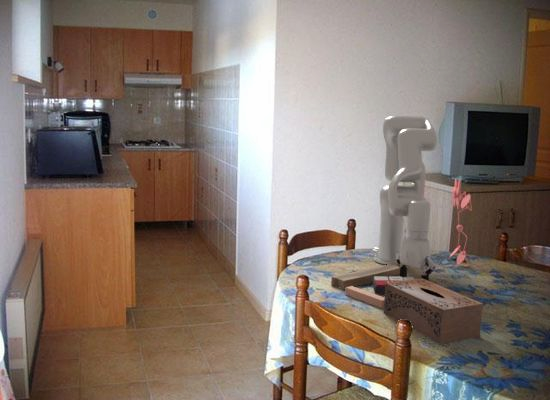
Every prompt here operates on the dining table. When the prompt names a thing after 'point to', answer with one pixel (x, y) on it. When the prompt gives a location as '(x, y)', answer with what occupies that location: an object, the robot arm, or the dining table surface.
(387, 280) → the calculator
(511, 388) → the dining table surface
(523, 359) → the dining table surface
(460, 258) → the leafy plant stem
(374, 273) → the brown wooden plank
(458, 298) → the tissue box cover
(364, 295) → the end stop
